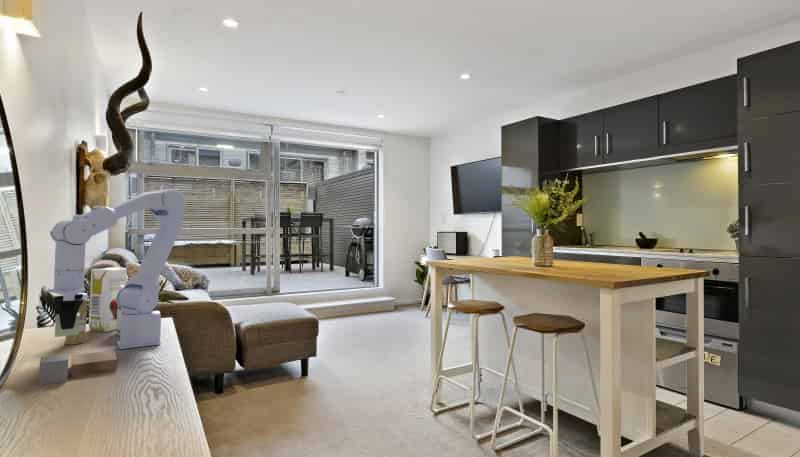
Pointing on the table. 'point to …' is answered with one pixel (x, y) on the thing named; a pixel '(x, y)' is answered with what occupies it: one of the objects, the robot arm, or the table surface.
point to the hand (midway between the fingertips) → (67, 326)
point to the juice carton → (105, 298)
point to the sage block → (66, 332)
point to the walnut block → (93, 363)
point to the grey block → (53, 369)
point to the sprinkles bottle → (82, 324)
